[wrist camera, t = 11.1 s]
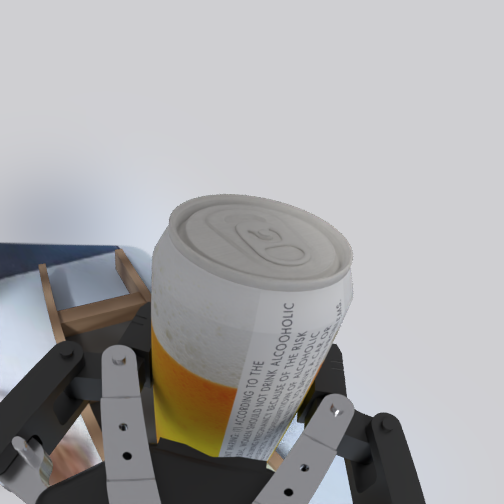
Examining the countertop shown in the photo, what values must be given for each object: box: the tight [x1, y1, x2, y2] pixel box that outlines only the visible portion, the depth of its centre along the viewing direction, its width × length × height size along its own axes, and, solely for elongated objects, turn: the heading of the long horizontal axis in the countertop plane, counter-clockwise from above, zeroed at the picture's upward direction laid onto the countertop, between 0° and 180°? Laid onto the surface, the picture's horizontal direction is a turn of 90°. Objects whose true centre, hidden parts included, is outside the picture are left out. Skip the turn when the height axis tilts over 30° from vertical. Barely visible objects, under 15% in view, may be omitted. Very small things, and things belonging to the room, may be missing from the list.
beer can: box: [151, 194, 353, 462], centre depth 13 cm, size 6×6×15 cm
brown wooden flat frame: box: [39, 249, 283, 472], centre depth 27 cm, size 36×12×3 cm, turn 38°
